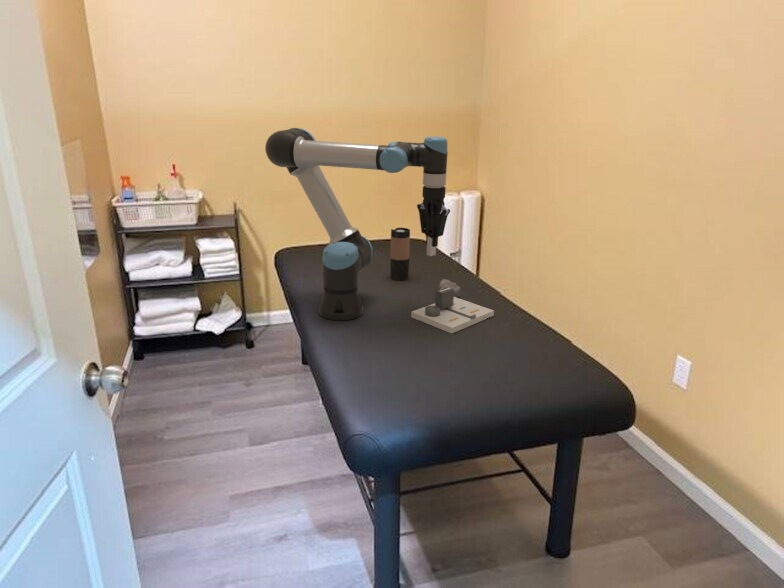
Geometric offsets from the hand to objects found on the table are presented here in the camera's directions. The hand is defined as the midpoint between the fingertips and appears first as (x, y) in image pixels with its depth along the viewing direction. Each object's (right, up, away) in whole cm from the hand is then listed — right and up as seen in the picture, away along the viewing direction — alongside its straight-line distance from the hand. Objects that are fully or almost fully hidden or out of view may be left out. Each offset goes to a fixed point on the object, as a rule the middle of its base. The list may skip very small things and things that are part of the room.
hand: (431, 254), depth 195 cm
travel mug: (-10, -7, +37) cm, 39 cm away
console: (+7, -21, -1) cm, 22 cm away
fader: (+5, -18, +1) cm, 18 cm away
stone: (+7, -15, +18) cm, 24 cm away
